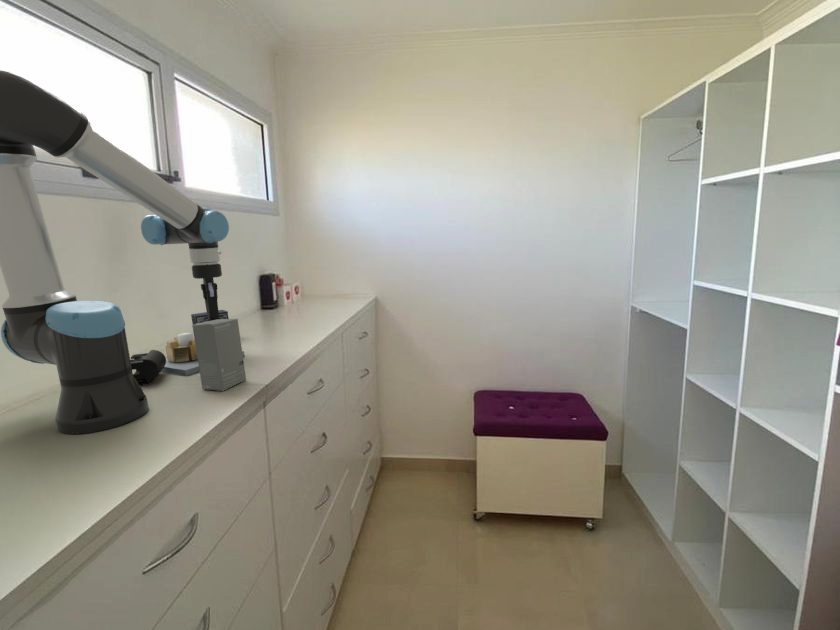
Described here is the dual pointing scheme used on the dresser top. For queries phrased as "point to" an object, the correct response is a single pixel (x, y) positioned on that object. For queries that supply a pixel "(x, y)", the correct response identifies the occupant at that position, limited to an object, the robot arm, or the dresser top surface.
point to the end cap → (147, 366)
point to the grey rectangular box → (219, 353)
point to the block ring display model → (185, 366)
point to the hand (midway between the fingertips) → (216, 343)
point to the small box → (203, 316)
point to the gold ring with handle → (181, 351)
